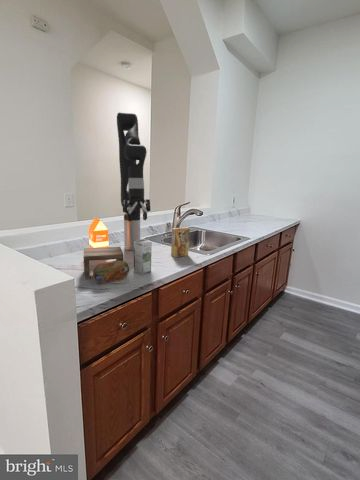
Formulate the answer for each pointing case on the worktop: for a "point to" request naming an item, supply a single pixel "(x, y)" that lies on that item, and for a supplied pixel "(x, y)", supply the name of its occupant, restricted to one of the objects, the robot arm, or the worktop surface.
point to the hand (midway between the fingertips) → (137, 220)
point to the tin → (110, 271)
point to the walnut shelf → (100, 256)
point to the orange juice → (98, 234)
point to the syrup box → (142, 256)
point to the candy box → (180, 242)
